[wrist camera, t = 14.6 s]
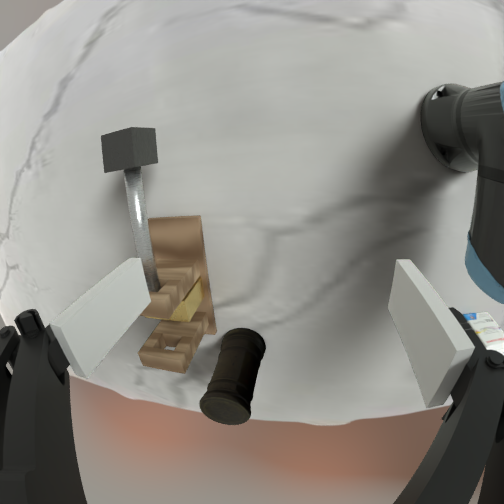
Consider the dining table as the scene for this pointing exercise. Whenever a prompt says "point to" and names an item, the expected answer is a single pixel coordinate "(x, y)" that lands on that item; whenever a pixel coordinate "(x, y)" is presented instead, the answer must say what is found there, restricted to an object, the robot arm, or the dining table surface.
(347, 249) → the dining table surface
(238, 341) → the container
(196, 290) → the spacer
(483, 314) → the ink box
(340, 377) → the dining table surface
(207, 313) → the bearing rig
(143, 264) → the shaft
